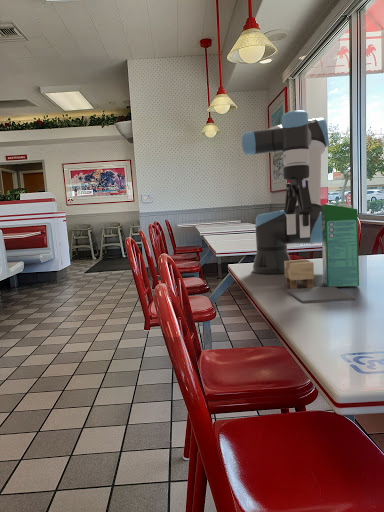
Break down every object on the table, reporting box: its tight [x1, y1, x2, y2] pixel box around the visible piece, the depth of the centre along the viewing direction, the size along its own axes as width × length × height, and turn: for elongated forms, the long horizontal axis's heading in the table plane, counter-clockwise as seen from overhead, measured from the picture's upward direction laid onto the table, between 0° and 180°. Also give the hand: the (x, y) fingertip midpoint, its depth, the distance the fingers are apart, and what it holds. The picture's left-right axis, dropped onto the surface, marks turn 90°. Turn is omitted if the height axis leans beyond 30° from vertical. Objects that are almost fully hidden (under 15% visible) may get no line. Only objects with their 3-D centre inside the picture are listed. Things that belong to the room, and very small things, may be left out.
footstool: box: [284, 259, 315, 289], centre depth 119 cm, size 7×7×8 cm
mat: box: [287, 286, 356, 304], centre depth 108 cm, size 14×14×1 cm
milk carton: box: [321, 202, 360, 288], centre depth 118 cm, size 9×9×25 cm
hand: (297, 236), depth 118 cm, fingers open, 13 cm apart
